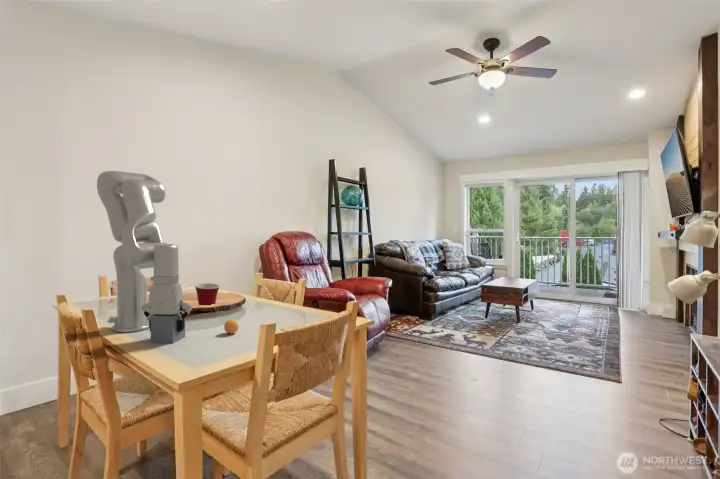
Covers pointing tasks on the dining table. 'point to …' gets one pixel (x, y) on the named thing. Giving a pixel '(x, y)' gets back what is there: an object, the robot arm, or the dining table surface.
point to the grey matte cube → (165, 329)
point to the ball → (231, 326)
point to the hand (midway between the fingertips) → (166, 330)
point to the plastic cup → (207, 293)
